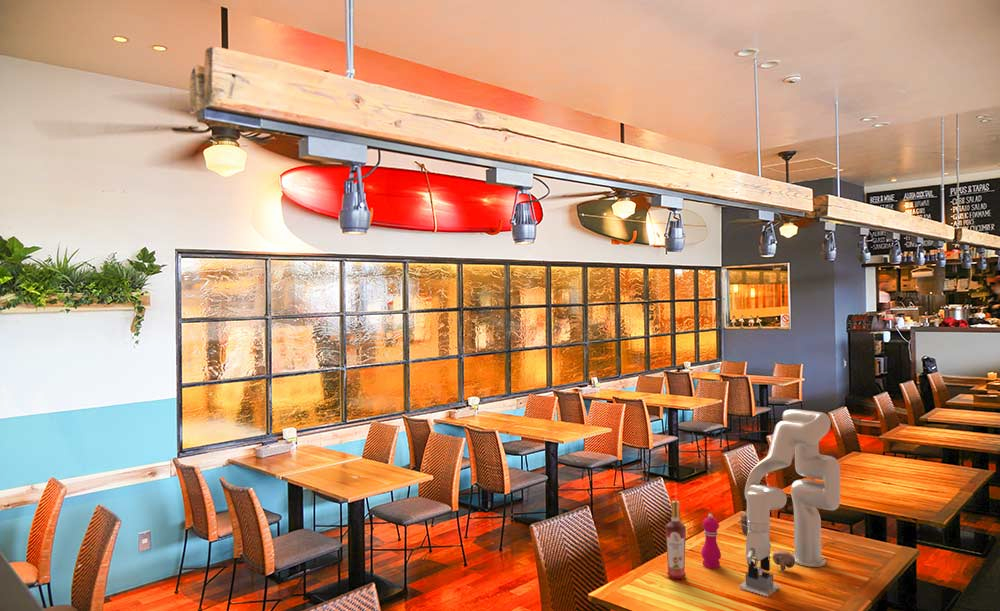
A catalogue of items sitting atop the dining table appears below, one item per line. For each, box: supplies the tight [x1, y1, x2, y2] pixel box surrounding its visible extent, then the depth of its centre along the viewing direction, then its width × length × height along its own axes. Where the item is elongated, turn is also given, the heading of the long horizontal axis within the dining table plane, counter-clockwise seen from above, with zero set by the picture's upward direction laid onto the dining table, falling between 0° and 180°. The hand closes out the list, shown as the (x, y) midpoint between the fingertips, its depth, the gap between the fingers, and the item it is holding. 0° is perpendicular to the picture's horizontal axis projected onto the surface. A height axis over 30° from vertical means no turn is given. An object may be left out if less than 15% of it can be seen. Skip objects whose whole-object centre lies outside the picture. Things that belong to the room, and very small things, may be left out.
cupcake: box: [740, 509, 748, 536], centre depth 282 cm, size 10×10×10 cm
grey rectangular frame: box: [745, 570, 774, 590], centre depth 228 cm, size 8×6×4 cm
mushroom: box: [772, 550, 796, 572], centre depth 242 cm, size 8×6×8 cm
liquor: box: [665, 500, 687, 581], centre depth 238 cm, size 7×7×28 cm
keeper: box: [738, 566, 780, 598], centre depth 227 cm, size 10×10×7 cm
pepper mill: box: [701, 513, 722, 570], centre depth 248 cm, size 7×7×20 cm
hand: (759, 574), depth 227 cm, fingers open, 9 cm apart
